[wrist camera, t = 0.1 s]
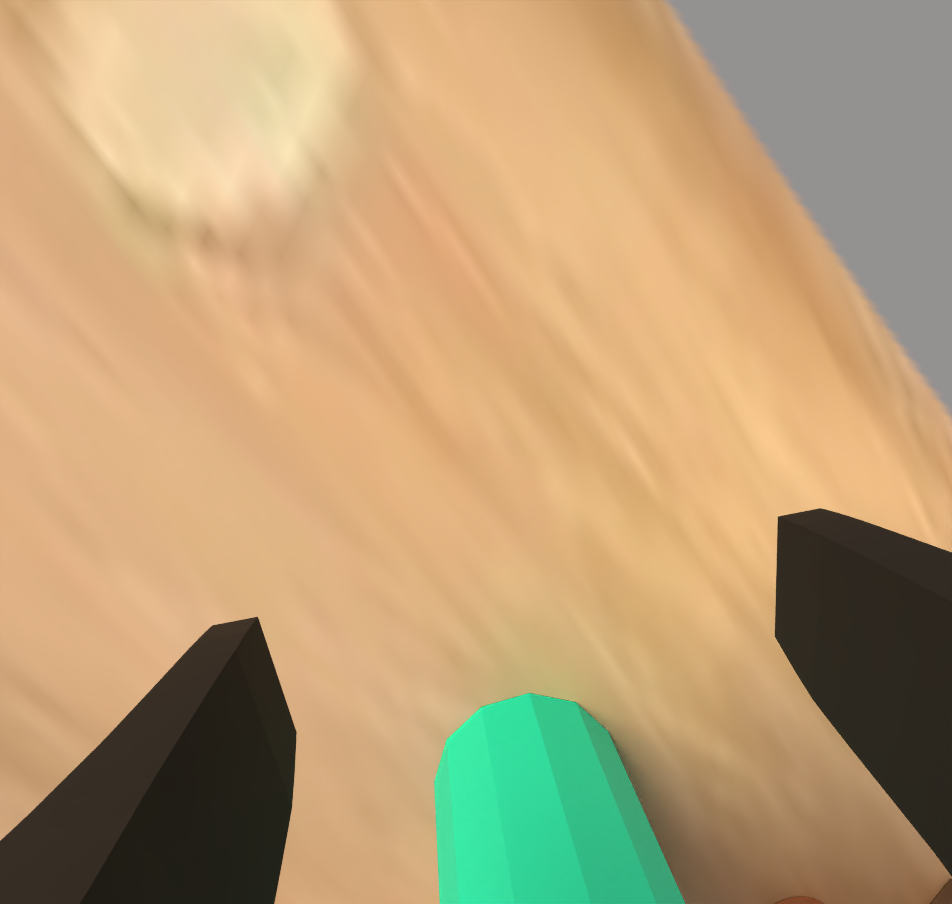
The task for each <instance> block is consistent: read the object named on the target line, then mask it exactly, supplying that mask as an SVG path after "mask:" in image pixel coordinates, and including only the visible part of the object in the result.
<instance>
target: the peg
mask: <svg viewBox="0 0 952 904" xmlns="http://www.w3.org/2000/svg"><path fill="white" fill-rule="evenodd" d="M776 904H823V903H821V902H820V901H818V900H816V899H813V898H809V897H793V898H788V899H785V900H782V901H780V902H778V903H776Z"/></svg>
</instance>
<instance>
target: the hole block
mask: <svg viewBox="0 0 952 904" xmlns="http://www.w3.org/2000/svg"><path fill="white" fill-rule="evenodd" d="M931 904H952V879H951V880H950V881H949V882H948V883H947V884H946V886H945V887H944V888H943V889H942V891H941V892H940V893H939V894H938V896H937V897H936V898H935V899H934V900H933V902H932V903H931Z"/></svg>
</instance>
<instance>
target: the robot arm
mask: <svg viewBox="0 0 952 904" xmlns="http://www.w3.org/2000/svg"><path fill="white" fill-rule="evenodd" d="M775 637H776V639H777V641H778V643H779V644H780V646H781V648H782V649H783V651H784V653H785V655H786V656H787V658H788V660H789V662H790V663H791V665H792V667H793V668H794V670H795V672H796V673H797V675H798V677H799V678H800V680H801V681H802V683H803V685H804V686H805V688H806V689H807V691H808V693H809V694H810V696H811V697H812V699H813V700H814V702H815V703H816V704H817V706H818V707H819V708H820V709H821V711H822V712H823V713H824V715H825V716H826V717H827V719H828V720H829V721H830V722H831V724H832V725H833V726H834V727H835V729H836V730H837V731H838V733H839V734H840V735H841V736H842V738H843V739H844V740H845V741H846V743H847V744H848V745H849V747H850V748H851V749H852V750H853V752H854V753H855V754H856V755H857V757H858V758H859V759H860V760H861V762H862V763H863V764H864V765H865V767H866V768H867V769H868V770H869V772H870V773H871V774H872V775H873V777H874V778H875V779H876V780H877V782H878V783H879V784H880V785H881V787H882V788H883V789H884V790H885V792H886V793H887V794H888V795H889V797H890V798H891V799H892V800H893V802H894V803H895V804H896V805H897V807H898V808H899V809H900V810H901V812H902V813H903V814H904V815H905V817H906V818H907V819H908V820H909V822H910V823H911V824H912V825H913V827H914V828H915V829H916V830H917V832H918V833H919V834H920V835H921V837H922V838H923V839H924V840H925V842H926V843H927V844H928V845H929V847H930V848H931V849H932V850H933V852H934V853H935V854H936V856H937V857H938V858H939V860H940V861H941V862H942V864H943V865H944V866H945V868H946V869H947V870H948V872H949V873H950V874H951V876H952V553H951V552H949V551H946V550H943V549H940V548H937V547H935V546H932V545H929V544H926V543H924V542H921V541H918V540H915V539H912V538H910V537H907V536H904V535H901V534H899V533H896V532H893V531H890V530H887V529H885V528H882V527H879V526H876V525H873V524H870V523H867V522H864V521H861V520H858V519H855V518H852V517H849V516H846V515H843V514H839V513H836V512H832V511H829V510H825V509H821V508H820V509H815V510H810V511H805V512H799V513H794V514H789V515H784V516H779V517H778V535H777V575H776V615H775ZM295 752H296V730H295V727H294V724H293V721H292V718H291V715H290V712H289V709H288V706H287V703H286V700H285V697H284V694H283V691H282V688H281V685H280V682H279V679H278V676H277V673H276V670H275V667H274V664H273V661H272V658H271V655H270V652H269V649H268V646H267V643H266V640H265V637H264V634H263V631H262V628H261V625H260V622H259V619H258V617H254V618H249V619H244V620H239V621H234V622H229V623H223V624H218V625H213V626H211V627H210V628H209V629H208V630H207V631H206V632H205V633H204V634H203V635H202V636H201V637H200V638H199V639H198V640H197V641H196V642H195V643H194V644H193V645H192V646H191V647H190V648H189V649H188V650H187V652H186V653H185V654H184V655H183V656H182V657H181V658H180V659H179V660H178V661H177V662H176V663H175V664H174V666H173V667H172V668H171V669H170V670H169V671H168V672H167V673H166V674H165V675H164V676H163V677H162V679H161V680H160V681H159V682H158V683H157V684H156V685H155V686H154V687H153V688H152V689H151V691H150V692H149V693H148V694H147V695H146V696H145V697H144V698H143V699H142V700H141V701H140V702H139V703H138V704H137V705H136V706H135V708H134V709H133V710H132V711H131V712H130V713H129V714H128V715H127V716H126V717H125V718H124V719H123V720H122V721H121V722H120V724H119V725H118V726H117V727H116V728H115V729H114V730H113V731H112V732H111V733H110V734H109V735H108V736H107V737H106V738H105V739H104V740H103V741H102V743H101V744H100V745H99V746H98V747H97V748H96V749H95V750H94V751H92V752H91V753H90V754H89V755H88V756H87V757H86V758H85V759H84V760H83V761H82V762H81V763H80V764H79V765H78V766H77V767H76V768H75V769H74V770H73V771H72V772H71V773H70V774H69V775H68V776H67V777H66V778H65V779H64V780H63V781H62V782H61V783H60V784H59V785H58V786H57V787H56V788H55V789H54V790H53V791H52V792H51V793H50V794H49V795H48V796H47V797H46V798H45V799H44V800H43V801H42V802H41V803H40V804H39V805H38V806H37V807H36V808H35V809H34V810H33V811H32V812H31V813H30V814H29V815H28V816H27V817H26V818H24V819H23V820H22V821H21V822H20V823H19V824H18V825H17V826H16V827H15V828H14V829H13V830H12V831H11V832H9V833H8V834H7V835H6V836H5V837H4V838H3V839H2V840H1V841H0V904H274V902H275V897H276V891H277V886H278V881H279V876H280V870H281V865H282V860H283V854H284V849H285V843H286V838H287V832H288V827H289V821H290V815H291V809H292V799H293V786H294V772H295Z"/></svg>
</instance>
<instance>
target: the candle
mask: <svg viewBox="0 0 952 904" xmlns="http://www.w3.org/2000/svg"><path fill="white" fill-rule="evenodd" d="M434 785H435V808H436V830H437V852H438V874H439V896H440V904H685V902H684V900H683V897H682V895H681V893H680V891H679V888H678V886H677V884H676V882H675V880H674V877H673V875H672V873H671V871H670V868H669V866H668V864H667V862H666V859H665V857H664V855H663V853H662V850H661V848H660V846H659V844H658V842H657V839H656V837H655V835H654V833H653V830H652V828H651V826H650V824H649V821H648V819H647V817H646V815H645V813H644V810H643V808H642V806H641V804H640V801H639V799H638V797H637V795H636V792H635V790H634V788H633V786H632V784H631V781H630V779H629V777H628V775H627V772H626V770H625V768H624V766H623V763H622V761H621V759H620V757H619V755H618V752H617V750H616V748H615V746H614V743H613V741H612V739H611V737H610V734H609V732H608V731H607V730H606V729H605V728H604V727H603V726H602V725H601V724H599V723H598V722H597V721H596V720H595V719H594V718H593V717H592V716H591V715H589V714H588V713H587V712H586V711H585V710H584V709H583V708H582V707H580V706H579V705H578V704H577V703H576V702H572V701H567V700H562V699H557V698H552V697H546V696H541V695H536V694H531V693H528V694H524V695H521V696H517V697H514V698H510V699H507V700H504V701H500V702H497V703H493V704H490V705H486V706H483V707H481V708H480V709H479V710H478V711H477V712H476V713H474V714H473V715H472V716H471V717H470V718H469V719H468V720H467V721H466V722H465V723H464V724H463V725H462V726H461V727H460V728H458V729H457V730H456V731H455V732H454V733H453V734H452V735H451V736H450V737H449V738H448V739H447V740H446V744H445V747H444V750H443V754H442V757H441V761H440V764H439V767H438V771H437V774H436V778H435V781H434Z"/></svg>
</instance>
